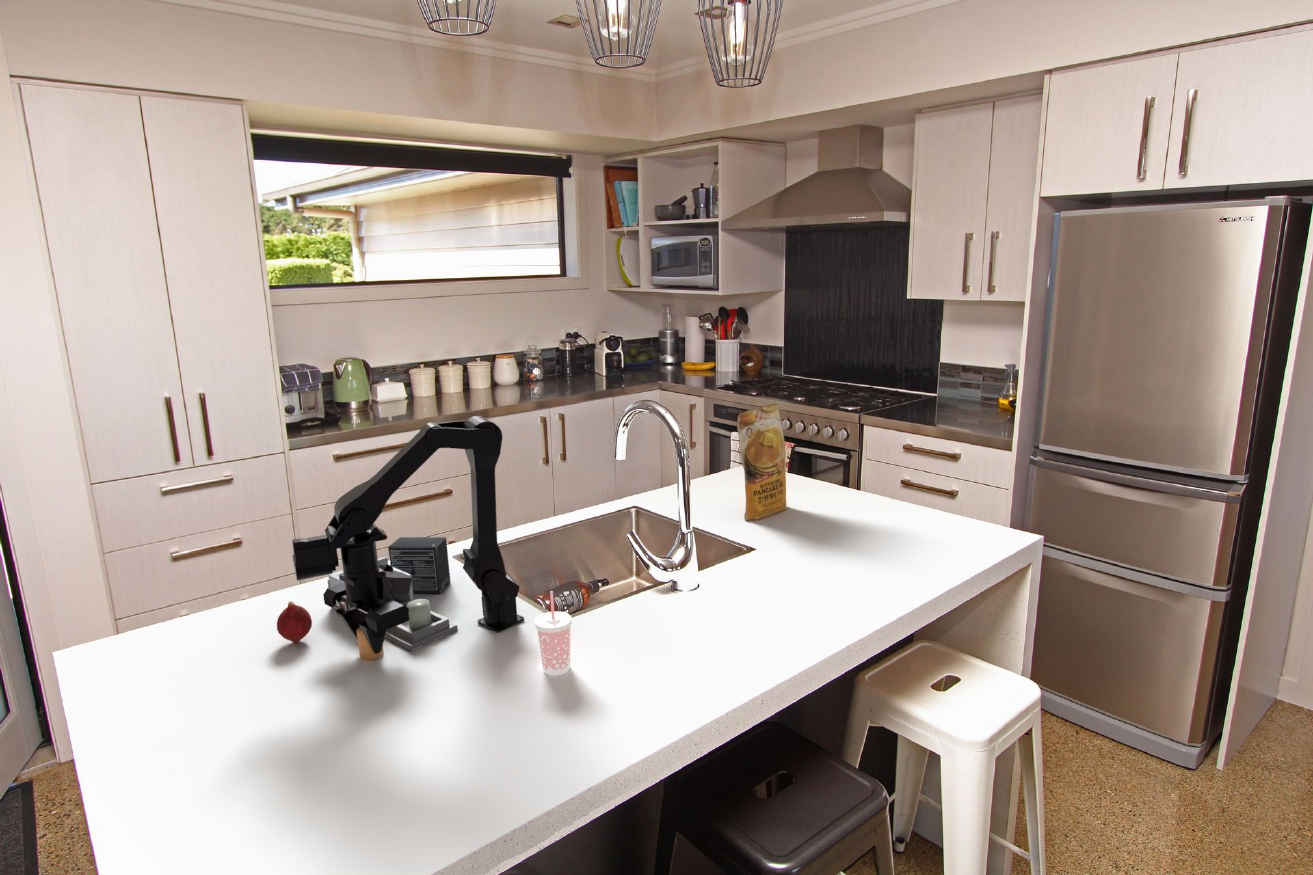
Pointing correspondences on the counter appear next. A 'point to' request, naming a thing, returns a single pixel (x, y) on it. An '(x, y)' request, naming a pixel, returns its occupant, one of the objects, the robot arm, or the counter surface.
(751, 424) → the pancake mix bag
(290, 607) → the onion
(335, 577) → the lid
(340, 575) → the robot arm
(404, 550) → the small box
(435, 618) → the housing
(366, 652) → the orange rounded tapered piece
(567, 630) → the beverage cup
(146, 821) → the counter surface
